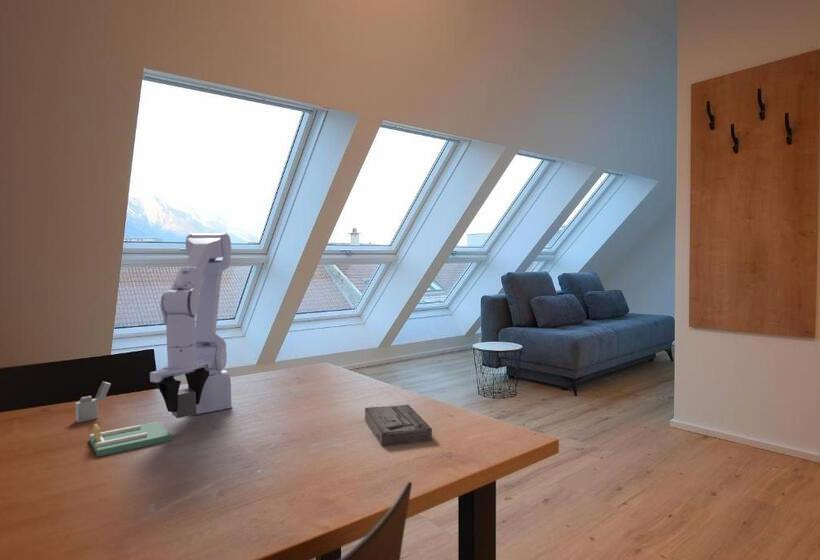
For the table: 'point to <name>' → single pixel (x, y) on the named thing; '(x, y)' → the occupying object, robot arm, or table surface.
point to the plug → (186, 403)
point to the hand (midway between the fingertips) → (183, 407)
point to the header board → (128, 438)
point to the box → (397, 425)
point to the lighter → (90, 404)
